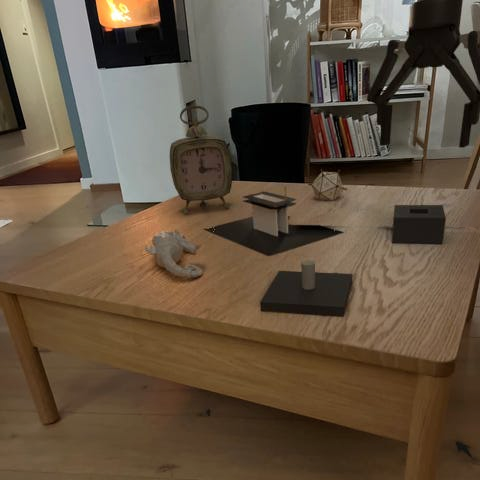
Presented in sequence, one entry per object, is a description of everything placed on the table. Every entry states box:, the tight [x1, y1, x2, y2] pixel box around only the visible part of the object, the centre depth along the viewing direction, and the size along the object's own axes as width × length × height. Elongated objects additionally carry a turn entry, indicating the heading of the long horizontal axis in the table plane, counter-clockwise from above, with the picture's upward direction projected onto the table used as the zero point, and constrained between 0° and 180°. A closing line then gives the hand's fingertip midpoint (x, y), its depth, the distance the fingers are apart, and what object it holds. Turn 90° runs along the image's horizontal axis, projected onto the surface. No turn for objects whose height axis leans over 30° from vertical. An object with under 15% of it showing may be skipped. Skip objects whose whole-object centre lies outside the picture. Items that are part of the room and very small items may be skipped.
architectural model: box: [203, 186, 345, 257], centre depth 101 cm, size 20×25×10 cm
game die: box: [307, 168, 348, 201], centre depth 119 cm, size 9×8×10 cm
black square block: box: [391, 204, 447, 245], centre depth 92 cm, size 9×9×5 cm
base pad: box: [259, 259, 353, 317], centre depth 72 cm, size 12×12×6 cm
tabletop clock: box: [169, 104, 233, 216], centre depth 119 cm, size 14×9×25 cm, turn 104°
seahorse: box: [144, 228, 204, 279], centre depth 89 cm, size 5×12×20 cm
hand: (422, 145), depth 82 cm, fingers open, 13 cm apart
